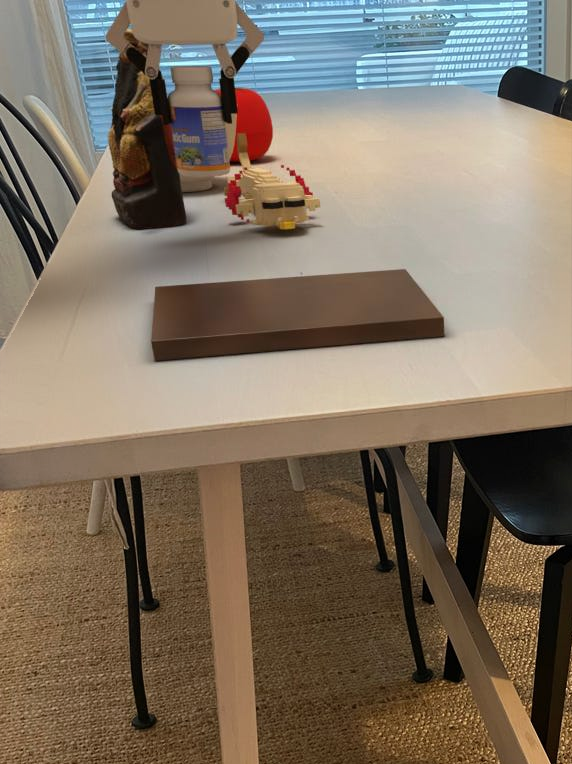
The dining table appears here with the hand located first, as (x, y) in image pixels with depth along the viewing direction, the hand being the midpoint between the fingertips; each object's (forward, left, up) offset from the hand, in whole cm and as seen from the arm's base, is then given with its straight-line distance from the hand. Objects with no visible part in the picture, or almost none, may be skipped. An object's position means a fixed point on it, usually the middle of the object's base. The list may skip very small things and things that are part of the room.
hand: (197, 121), depth 100 cm
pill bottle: (0, 0, -5) cm, 5 cm away
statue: (-7, +12, -12) cm, 18 cm away
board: (+5, -33, -11) cm, 35 cm away
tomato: (+5, +57, -12) cm, 59 cm away
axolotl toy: (+6, +11, -12) cm, 17 cm away
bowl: (-3, +34, -12) cm, 36 cm away
